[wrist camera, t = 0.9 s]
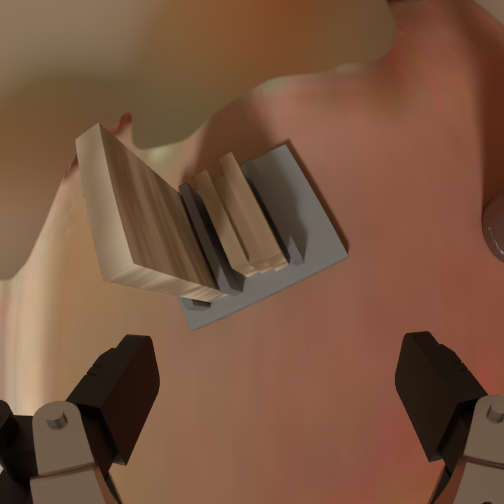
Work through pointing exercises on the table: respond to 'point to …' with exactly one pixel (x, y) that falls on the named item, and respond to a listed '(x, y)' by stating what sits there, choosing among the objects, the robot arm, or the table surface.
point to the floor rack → (285, 230)
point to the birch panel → (140, 223)
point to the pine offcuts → (240, 220)
